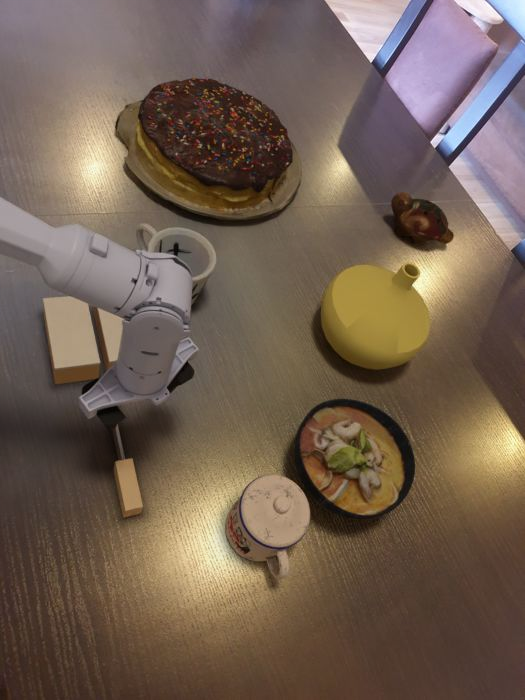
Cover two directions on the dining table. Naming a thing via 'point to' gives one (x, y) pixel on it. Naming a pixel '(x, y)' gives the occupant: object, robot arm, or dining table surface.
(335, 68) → the dining table surface
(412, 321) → the vase
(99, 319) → the sponge cake
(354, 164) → the dining table surface
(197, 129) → the cake
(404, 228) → the decorative turtle
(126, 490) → the knife
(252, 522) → the teacup with lid
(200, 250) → the mug
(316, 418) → the bowl
